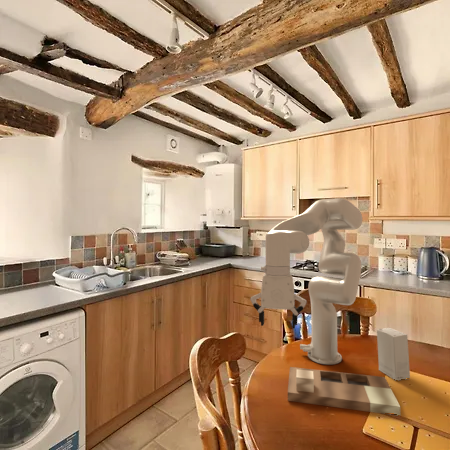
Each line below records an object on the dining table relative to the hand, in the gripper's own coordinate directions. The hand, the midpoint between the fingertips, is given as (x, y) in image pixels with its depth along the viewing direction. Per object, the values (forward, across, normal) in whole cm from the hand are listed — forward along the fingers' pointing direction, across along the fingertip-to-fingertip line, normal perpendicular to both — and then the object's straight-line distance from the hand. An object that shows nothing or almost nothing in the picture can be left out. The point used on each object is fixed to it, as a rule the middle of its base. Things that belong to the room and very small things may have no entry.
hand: (278, 325), depth 93 cm
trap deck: (+20, +18, +4) cm, 28 cm away
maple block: (+18, +8, 0) cm, 20 cm away
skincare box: (+20, +38, +20) cm, 47 cm away
